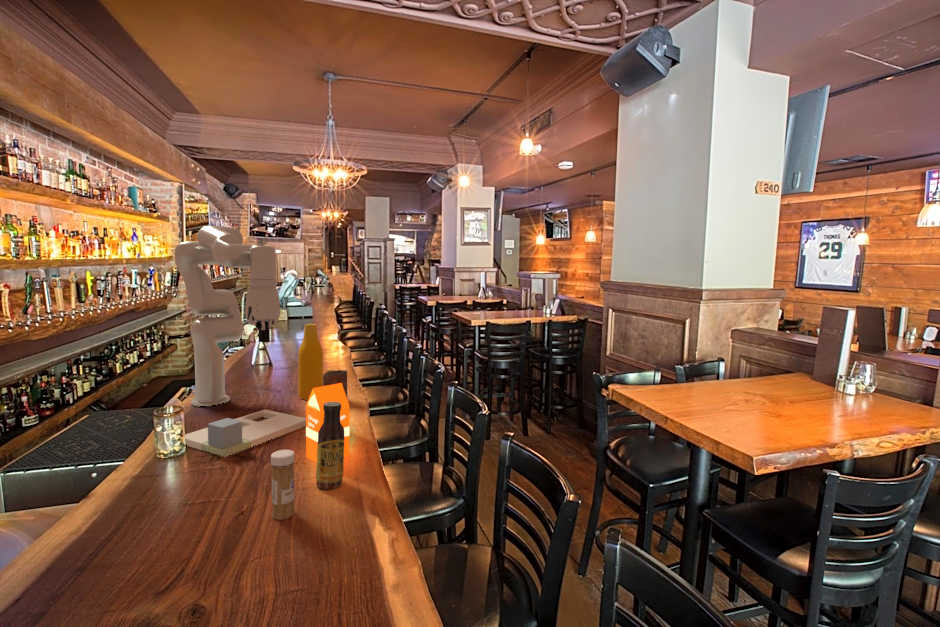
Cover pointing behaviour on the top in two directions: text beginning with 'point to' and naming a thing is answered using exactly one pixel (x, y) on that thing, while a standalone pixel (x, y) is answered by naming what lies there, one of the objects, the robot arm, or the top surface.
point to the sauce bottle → (330, 448)
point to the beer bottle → (310, 362)
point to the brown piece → (336, 378)
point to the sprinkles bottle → (283, 484)
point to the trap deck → (250, 431)
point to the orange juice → (317, 416)
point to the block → (224, 433)
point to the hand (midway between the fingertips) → (264, 341)
